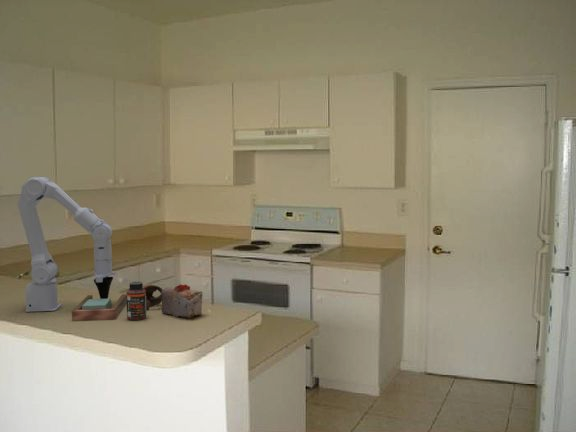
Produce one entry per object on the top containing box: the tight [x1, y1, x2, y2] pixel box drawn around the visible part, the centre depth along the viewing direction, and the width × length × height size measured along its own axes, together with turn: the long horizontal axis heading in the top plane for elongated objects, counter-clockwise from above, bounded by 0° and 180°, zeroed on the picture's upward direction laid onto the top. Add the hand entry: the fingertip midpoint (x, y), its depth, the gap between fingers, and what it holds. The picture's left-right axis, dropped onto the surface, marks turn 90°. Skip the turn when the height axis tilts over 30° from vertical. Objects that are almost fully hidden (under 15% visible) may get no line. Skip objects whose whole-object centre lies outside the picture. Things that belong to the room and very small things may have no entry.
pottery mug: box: [143, 284, 163, 311], centre depth 196 cm, size 12×10×8 cm
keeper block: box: [82, 297, 112, 310], centre depth 185 cm, size 7×9×4 cm
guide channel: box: [71, 293, 127, 322], centre depth 190 cm, size 13×22×3 cm, turn 6°
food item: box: [160, 283, 203, 319], centre depth 185 cm, size 14×8×10 cm, turn 57°
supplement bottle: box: [125, 281, 147, 321], centre depth 181 cm, size 6×6×11 cm
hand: (104, 299), depth 196 cm, fingers closed
